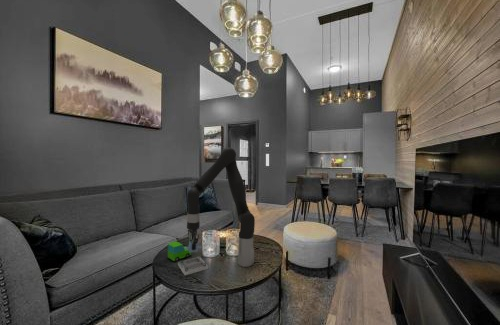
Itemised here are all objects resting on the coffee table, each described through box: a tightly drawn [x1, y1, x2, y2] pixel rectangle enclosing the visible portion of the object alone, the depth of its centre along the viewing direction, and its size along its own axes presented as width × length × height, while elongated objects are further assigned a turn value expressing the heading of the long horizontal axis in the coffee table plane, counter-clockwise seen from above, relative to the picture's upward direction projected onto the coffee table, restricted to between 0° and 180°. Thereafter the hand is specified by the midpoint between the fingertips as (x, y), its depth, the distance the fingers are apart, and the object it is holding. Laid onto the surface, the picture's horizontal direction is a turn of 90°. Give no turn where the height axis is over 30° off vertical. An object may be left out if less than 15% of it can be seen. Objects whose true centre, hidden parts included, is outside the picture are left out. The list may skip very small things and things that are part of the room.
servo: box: [185, 240, 203, 253], centre depth 131 cm, size 10×4×6 cm, turn 124°
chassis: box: [177, 255, 209, 276], centre depth 131 cm, size 14×14×3 cm
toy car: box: [167, 241, 192, 263], centre depth 143 cm, size 10×13×10 cm
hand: (192, 248), depth 131 cm, fingers closed on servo, 3 cm apart
